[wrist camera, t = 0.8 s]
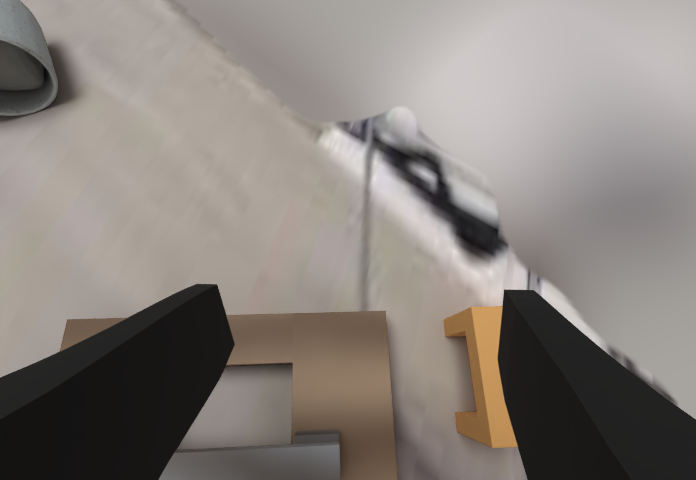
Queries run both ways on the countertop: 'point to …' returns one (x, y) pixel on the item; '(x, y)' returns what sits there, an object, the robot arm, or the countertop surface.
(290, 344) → the hook board
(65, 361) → the robot arm
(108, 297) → the countertop surface
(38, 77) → the ceramic mug
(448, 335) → the orange c-shaped bracket
